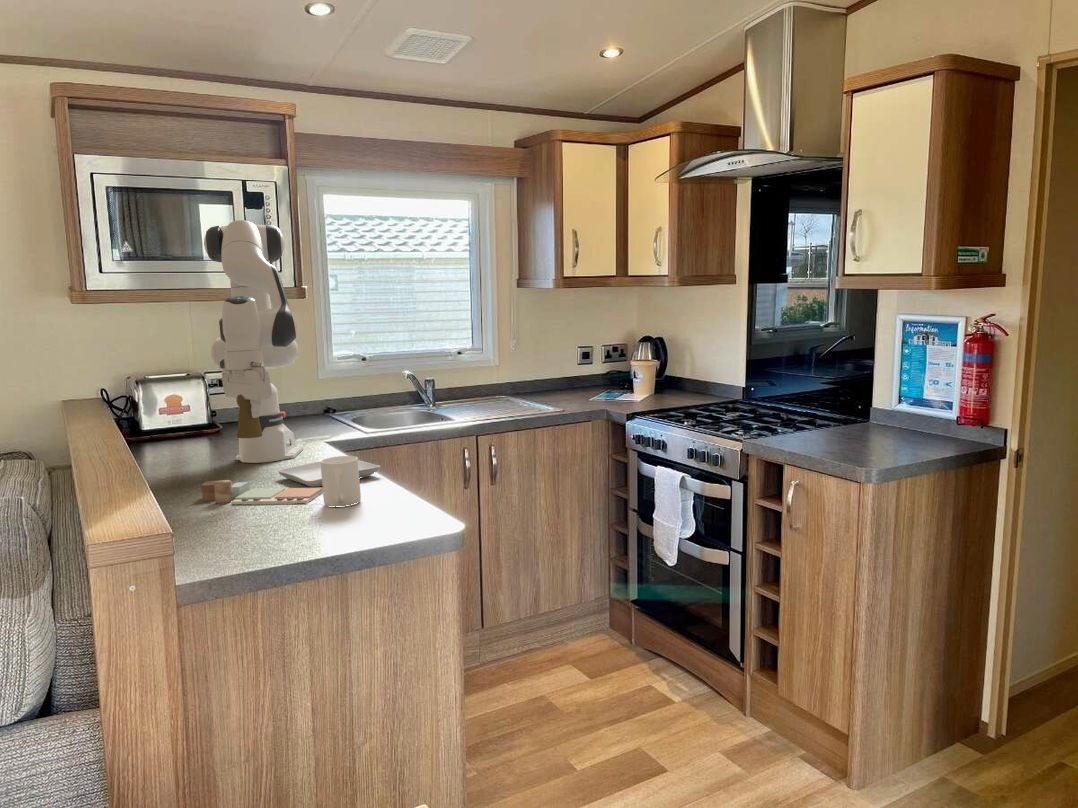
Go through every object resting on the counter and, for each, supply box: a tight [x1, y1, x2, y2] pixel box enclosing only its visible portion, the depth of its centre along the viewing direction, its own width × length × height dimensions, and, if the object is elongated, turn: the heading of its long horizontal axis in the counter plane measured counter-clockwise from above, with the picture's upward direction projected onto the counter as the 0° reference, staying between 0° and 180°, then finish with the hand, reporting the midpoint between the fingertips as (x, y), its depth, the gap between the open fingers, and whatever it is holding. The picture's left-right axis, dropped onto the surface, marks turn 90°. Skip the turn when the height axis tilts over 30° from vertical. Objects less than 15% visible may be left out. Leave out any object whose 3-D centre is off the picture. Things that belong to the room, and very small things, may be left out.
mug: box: [319, 455, 362, 507], centre depth 188 cm, size 9×12×11 cm
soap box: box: [232, 481, 250, 499], centre depth 203 cm, size 5×3×3 cm, turn 174°
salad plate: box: [277, 459, 381, 488], centre depth 218 cm, size 21×21×3 cm
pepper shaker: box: [236, 395, 262, 439], centre depth 201 cm, size 6×6×11 cm
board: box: [230, 487, 323, 505], centre depth 198 cm, size 11×19×1 cm, turn 84°
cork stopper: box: [214, 479, 234, 505], centre depth 197 cm, size 4×4×5 cm
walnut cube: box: [200, 480, 217, 502], centre depth 202 cm, size 4×4×4 cm
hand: (249, 416), depth 201 cm, fingers closed on pepper shaker, 4 cm apart
